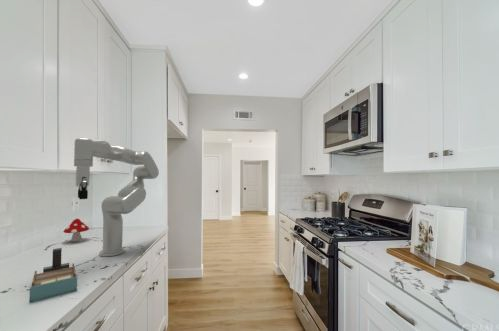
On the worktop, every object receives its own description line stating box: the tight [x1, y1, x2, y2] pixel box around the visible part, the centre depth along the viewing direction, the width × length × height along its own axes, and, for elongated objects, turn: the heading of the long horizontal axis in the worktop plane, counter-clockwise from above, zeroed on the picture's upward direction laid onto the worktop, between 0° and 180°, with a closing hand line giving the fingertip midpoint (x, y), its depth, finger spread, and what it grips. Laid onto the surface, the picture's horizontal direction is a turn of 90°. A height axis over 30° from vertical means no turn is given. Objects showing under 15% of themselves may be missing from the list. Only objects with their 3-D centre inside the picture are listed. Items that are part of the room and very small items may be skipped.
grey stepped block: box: [42, 247, 70, 273], centre depth 105 cm, size 3×9×10 cm, turn 128°
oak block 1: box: [41, 278, 55, 285], centre depth 85 cm, size 4×4×4 cm
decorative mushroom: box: [62, 218, 90, 243], centre depth 153 cm, size 14×14×15 cm
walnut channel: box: [31, 263, 77, 287], centre depth 95 cm, size 14×13×4 cm
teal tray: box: [29, 276, 78, 303], centre depth 86 cm, size 8×13×5 cm, turn 130°
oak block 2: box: [57, 274, 71, 281], centre depth 88 cm, size 4×4×4 cm
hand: (82, 198), depth 113 cm, fingers open, 9 cm apart
